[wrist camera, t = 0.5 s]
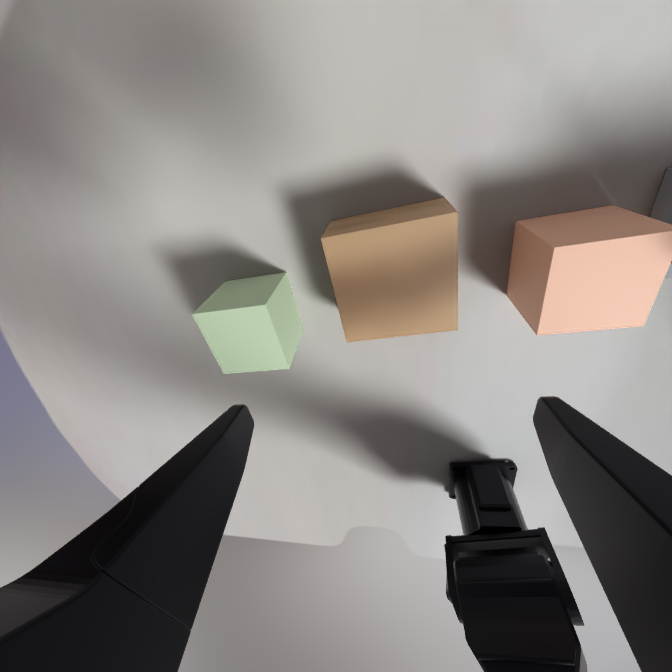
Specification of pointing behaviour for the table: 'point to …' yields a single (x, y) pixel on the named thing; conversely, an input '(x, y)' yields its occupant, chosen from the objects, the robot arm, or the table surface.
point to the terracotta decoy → (588, 269)
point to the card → (664, 205)
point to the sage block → (251, 324)
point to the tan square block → (395, 270)
